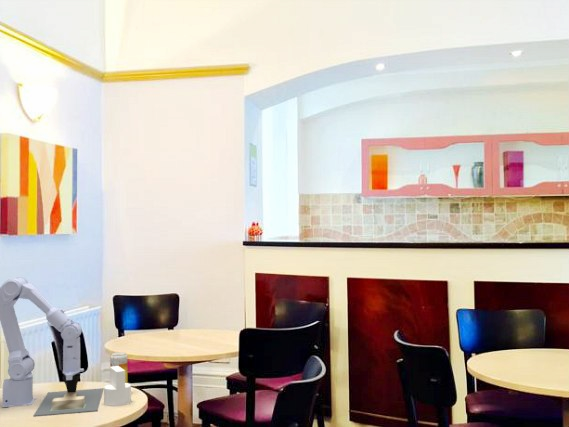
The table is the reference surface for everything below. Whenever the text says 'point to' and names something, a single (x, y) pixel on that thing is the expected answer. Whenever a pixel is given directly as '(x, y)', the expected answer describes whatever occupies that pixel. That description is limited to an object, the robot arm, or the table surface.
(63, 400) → the t block
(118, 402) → the cylinder with rectangular tab
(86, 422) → the table surface
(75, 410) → the mat
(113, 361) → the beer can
